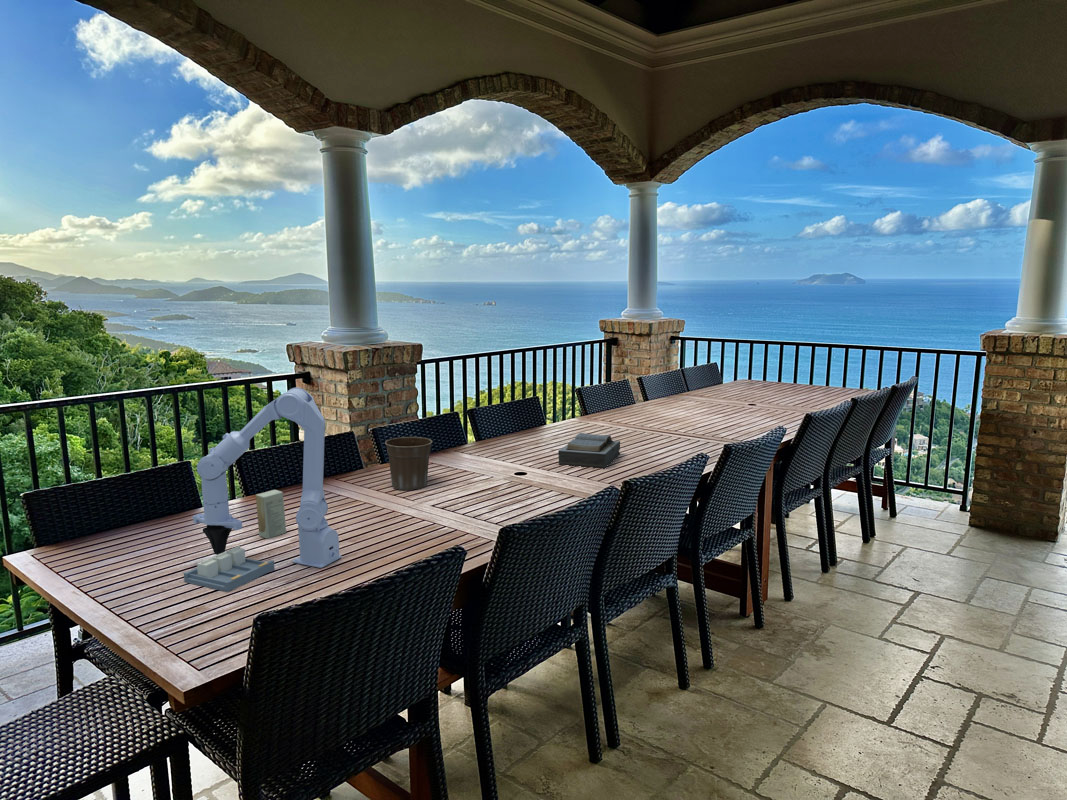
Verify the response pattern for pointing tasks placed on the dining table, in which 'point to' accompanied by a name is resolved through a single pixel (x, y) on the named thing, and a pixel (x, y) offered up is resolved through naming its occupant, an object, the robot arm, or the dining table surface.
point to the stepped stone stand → (589, 451)
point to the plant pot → (409, 462)
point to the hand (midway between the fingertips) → (219, 553)
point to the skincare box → (271, 513)
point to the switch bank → (231, 575)
